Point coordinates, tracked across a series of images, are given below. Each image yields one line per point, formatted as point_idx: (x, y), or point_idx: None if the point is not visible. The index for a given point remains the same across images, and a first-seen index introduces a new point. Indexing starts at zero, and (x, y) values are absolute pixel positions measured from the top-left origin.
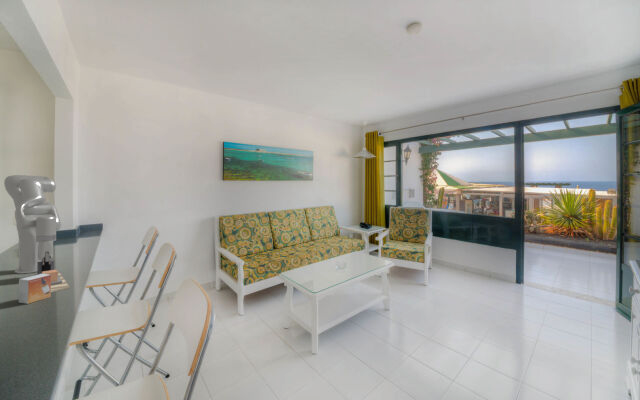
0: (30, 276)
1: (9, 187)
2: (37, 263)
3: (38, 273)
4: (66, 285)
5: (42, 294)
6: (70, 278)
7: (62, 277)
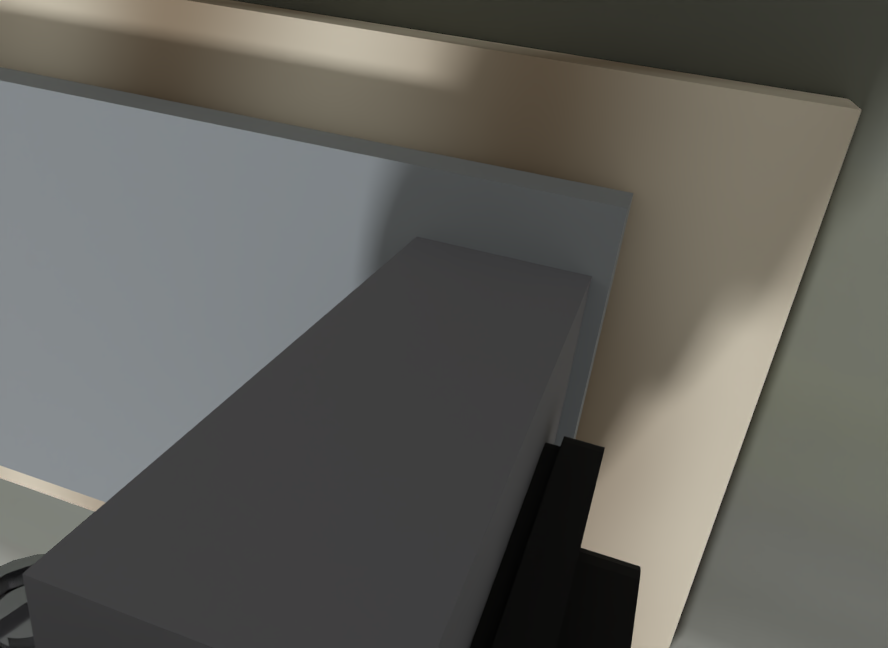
0: (796, 113)
1: None
2: (437, 601)
3: (385, 277)
4: None
5: None
6: (46, 538)
7: (38, 484)
